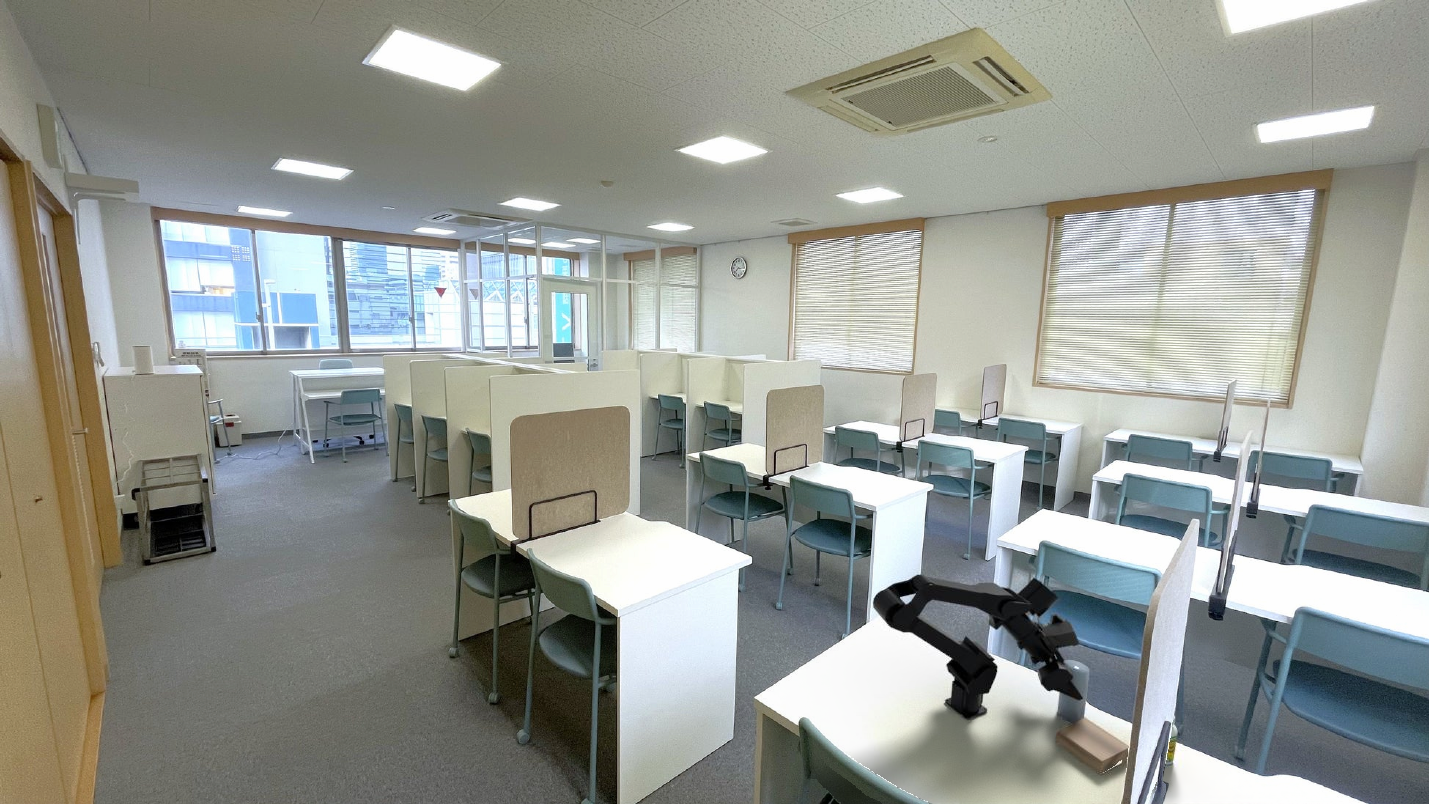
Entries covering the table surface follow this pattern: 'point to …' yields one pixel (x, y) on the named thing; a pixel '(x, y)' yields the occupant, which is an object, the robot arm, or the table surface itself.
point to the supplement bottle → (1172, 744)
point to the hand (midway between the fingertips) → (1075, 685)
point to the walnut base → (1092, 745)
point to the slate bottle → (1069, 706)
